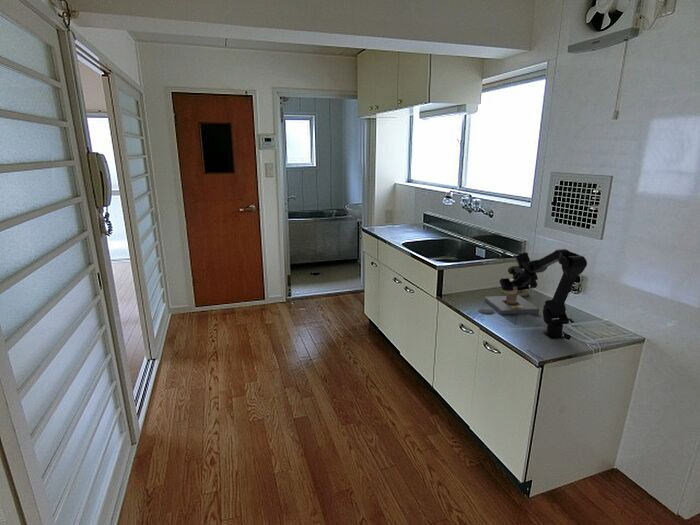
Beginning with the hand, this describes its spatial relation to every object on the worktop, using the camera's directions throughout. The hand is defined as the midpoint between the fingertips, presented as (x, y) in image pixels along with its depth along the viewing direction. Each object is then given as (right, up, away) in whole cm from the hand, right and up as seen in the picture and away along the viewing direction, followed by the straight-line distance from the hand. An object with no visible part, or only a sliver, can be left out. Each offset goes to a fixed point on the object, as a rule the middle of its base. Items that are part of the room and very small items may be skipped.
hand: (510, 290), depth 209 cm
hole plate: (0, -9, +1) cm, 9 cm away
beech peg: (0, -7, +1) cm, 7 cm away
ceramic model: (+12, -4, +23) cm, 26 cm away
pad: (-15, -11, -6) cm, 20 cm away
